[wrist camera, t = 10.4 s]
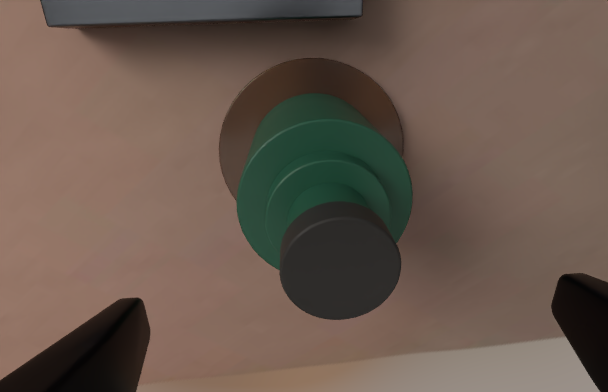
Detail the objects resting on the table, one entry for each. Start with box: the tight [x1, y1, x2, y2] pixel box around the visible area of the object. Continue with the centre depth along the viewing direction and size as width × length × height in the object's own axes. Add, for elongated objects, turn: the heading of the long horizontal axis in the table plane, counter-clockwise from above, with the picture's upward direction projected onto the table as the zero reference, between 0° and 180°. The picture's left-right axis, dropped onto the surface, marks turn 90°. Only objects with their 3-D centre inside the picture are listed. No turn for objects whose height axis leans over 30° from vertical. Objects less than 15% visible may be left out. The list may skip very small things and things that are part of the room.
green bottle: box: [237, 93, 413, 320], centre depth 14 cm, size 6×6×10 cm
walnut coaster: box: [219, 58, 403, 201], centre depth 18 cm, size 9×9×1 cm
